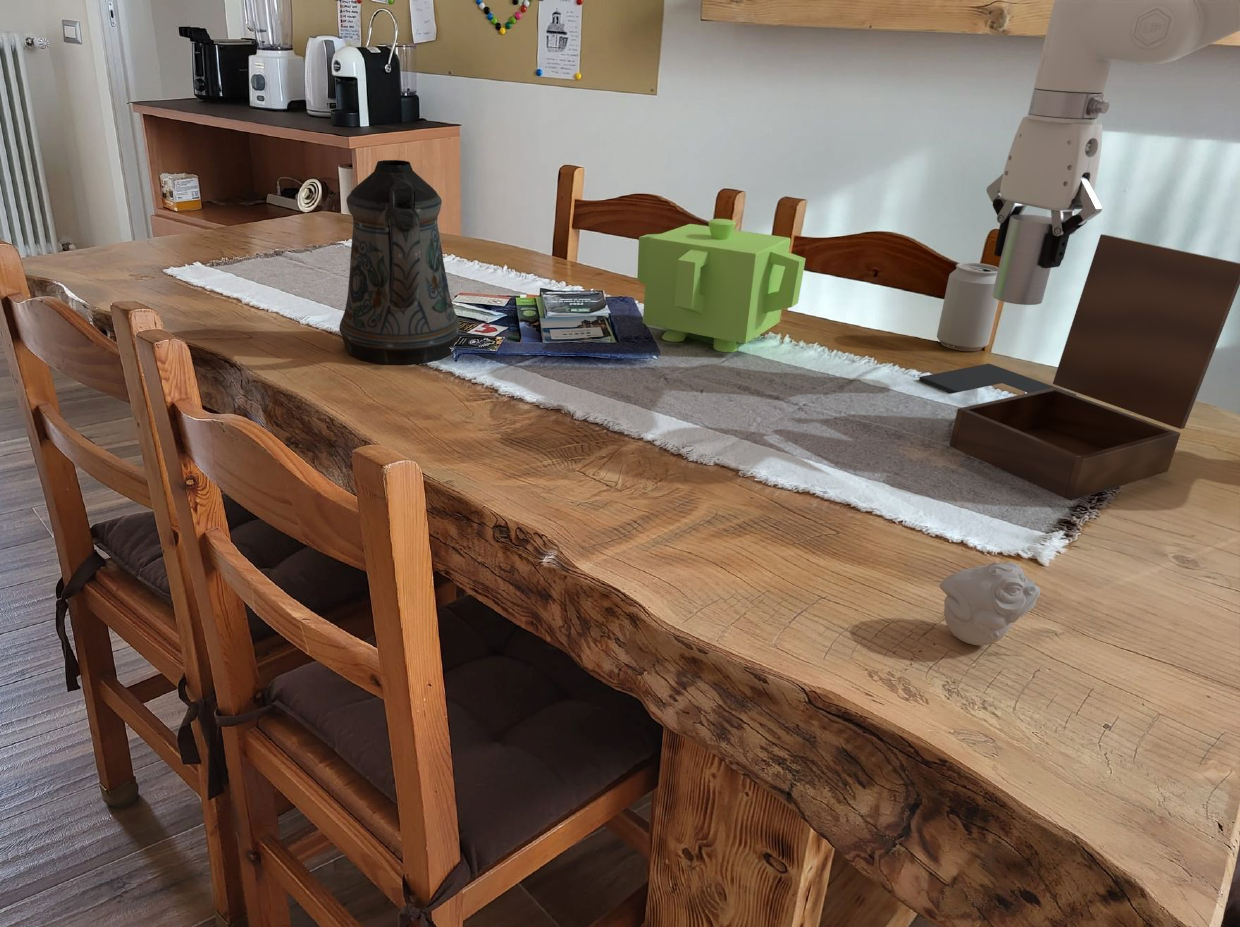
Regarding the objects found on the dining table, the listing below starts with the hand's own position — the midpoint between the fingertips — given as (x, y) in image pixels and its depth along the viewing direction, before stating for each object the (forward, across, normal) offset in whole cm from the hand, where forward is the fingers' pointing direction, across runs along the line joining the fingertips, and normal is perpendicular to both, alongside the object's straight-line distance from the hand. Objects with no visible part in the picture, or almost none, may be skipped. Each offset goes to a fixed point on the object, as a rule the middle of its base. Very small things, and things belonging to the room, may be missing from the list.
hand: (1026, 259), depth 125 cm
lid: (+3, -20, +6) cm, 21 cm away
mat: (+17, 0, 0) cm, 17 cm away
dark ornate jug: (+18, +47, +65) cm, 82 cm away
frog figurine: (+17, -40, +52) cm, 68 cm away
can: (+17, +16, -12) cm, 27 cm away
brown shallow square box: (+17, -20, +15) cm, 30 cm away
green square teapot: (+18, +35, +21) cm, 44 cm away
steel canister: (+5, 0, 0) cm, 5 cm away
